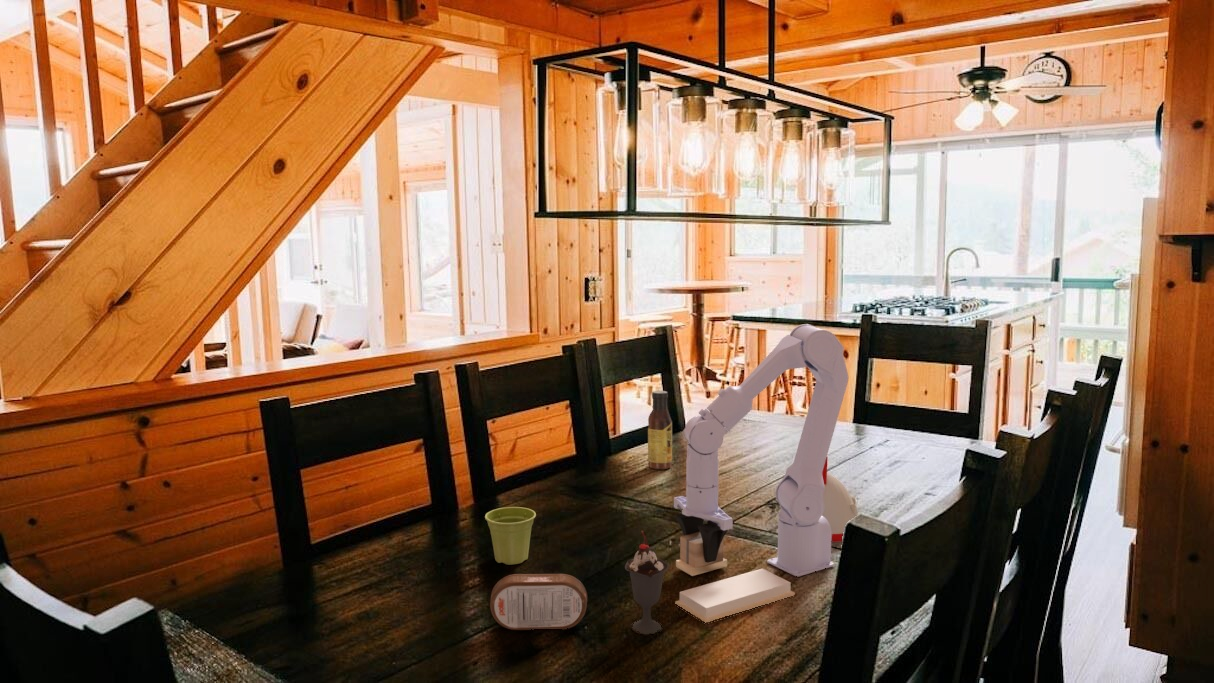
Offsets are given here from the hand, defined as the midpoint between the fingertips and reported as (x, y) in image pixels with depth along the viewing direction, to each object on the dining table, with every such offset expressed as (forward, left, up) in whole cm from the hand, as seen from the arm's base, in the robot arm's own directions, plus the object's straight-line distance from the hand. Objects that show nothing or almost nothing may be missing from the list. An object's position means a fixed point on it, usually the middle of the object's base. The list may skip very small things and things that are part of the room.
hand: (701, 556), depth 150 cm
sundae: (+21, +13, -3) cm, 25 cm away
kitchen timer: (-34, -3, -3) cm, 34 cm away
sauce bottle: (-32, -58, -3) cm, 66 cm away
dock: (+3, +13, -3) cm, 14 cm away
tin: (+35, +4, -3) cm, 35 cm away
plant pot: (+27, -23, -3) cm, 36 cm away
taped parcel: (0, 0, -2) cm, 2 cm away
